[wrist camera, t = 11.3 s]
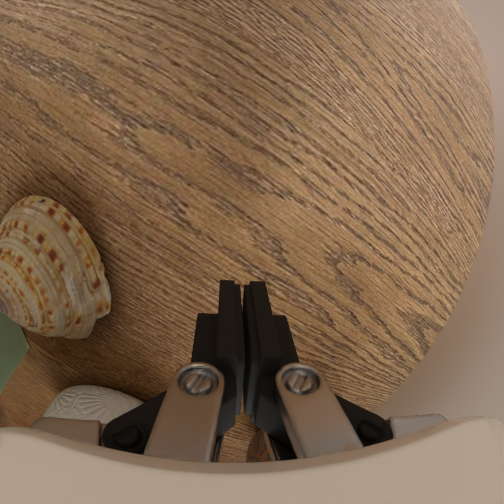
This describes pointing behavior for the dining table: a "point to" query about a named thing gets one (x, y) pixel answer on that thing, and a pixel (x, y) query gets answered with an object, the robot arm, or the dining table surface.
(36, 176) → the dining table surface
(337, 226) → the dining table surface
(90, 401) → the planter
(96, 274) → the seashell
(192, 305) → the dining table surface
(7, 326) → the tote
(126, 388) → the dining table surface
